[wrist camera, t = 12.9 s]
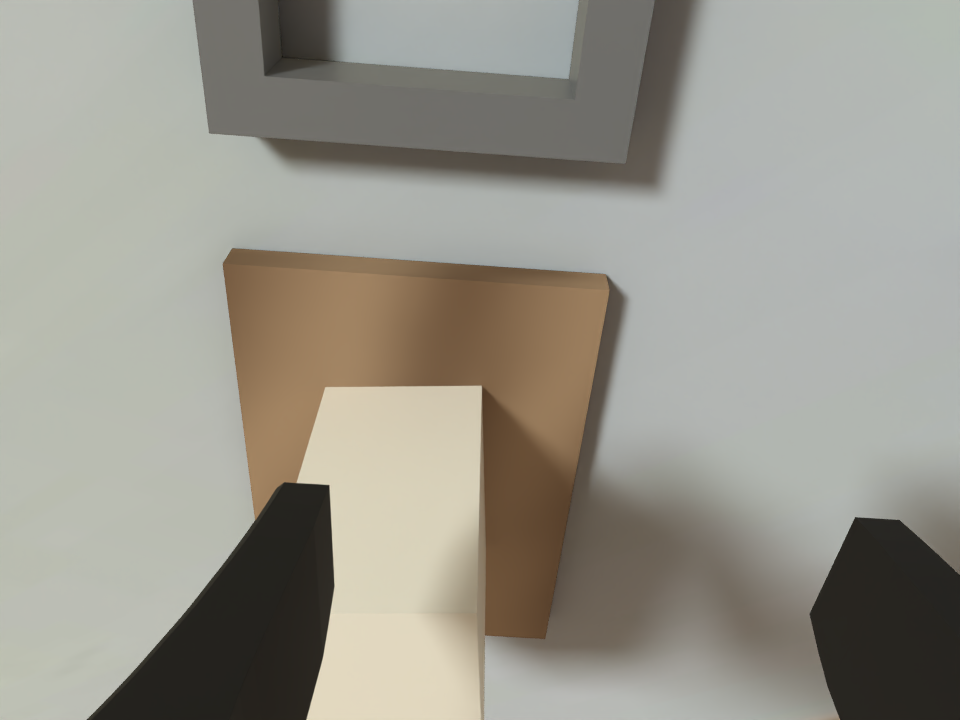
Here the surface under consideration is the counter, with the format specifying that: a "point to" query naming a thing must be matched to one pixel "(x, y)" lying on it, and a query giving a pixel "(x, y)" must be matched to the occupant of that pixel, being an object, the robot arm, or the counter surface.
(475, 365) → the walnut board
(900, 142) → the counter surface
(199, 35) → the grey picture frame
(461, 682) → the plug
